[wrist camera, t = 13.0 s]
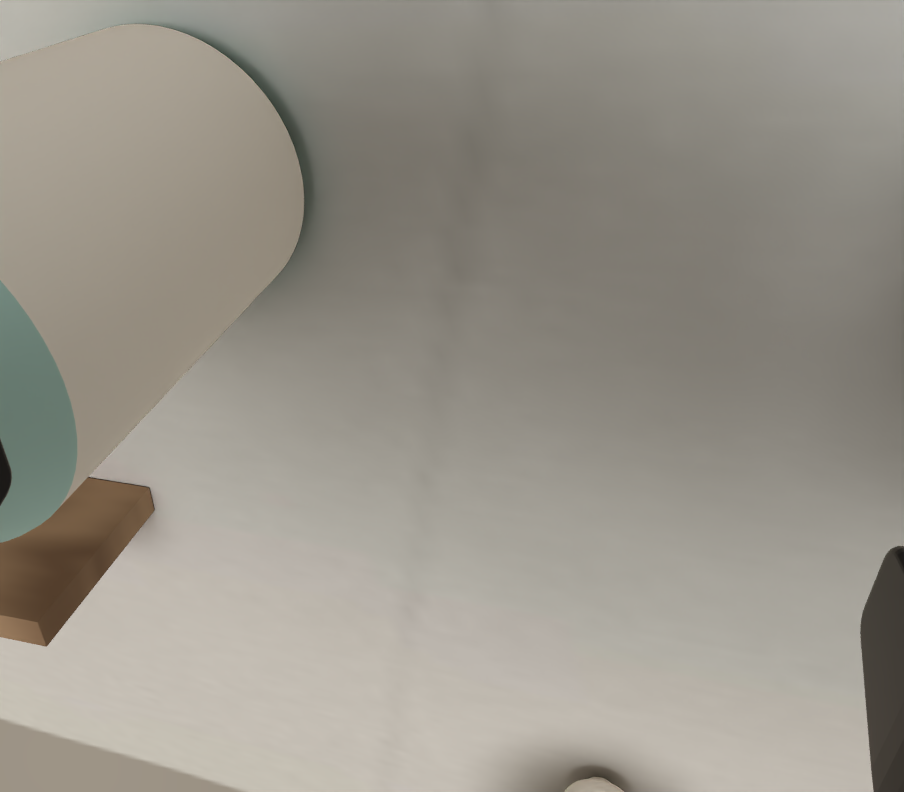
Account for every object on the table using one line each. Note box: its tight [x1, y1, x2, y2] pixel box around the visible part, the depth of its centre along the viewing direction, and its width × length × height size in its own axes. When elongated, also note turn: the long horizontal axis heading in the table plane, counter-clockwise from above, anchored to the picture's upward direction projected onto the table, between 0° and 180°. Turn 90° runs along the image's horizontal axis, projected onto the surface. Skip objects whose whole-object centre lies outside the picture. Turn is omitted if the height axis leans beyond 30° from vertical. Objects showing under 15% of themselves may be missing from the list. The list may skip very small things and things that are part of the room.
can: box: [0, 24, 304, 543], centre depth 17 cm, size 7×7×12 cm
